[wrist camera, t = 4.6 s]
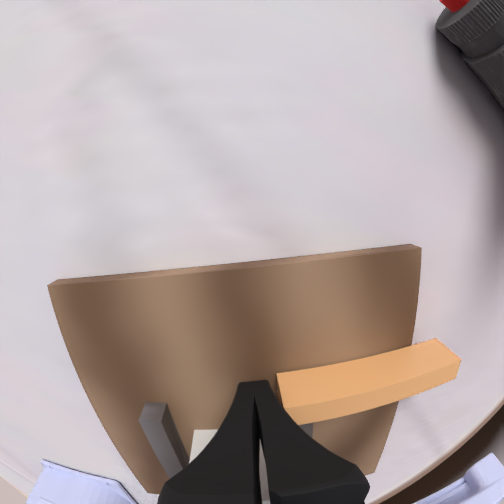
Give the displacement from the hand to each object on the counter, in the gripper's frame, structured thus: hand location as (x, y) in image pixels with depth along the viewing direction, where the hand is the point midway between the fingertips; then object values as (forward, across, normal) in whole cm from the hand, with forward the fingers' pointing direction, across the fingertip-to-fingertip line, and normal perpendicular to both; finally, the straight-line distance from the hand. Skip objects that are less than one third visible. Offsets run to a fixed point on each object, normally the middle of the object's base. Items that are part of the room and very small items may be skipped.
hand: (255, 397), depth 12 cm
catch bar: (+1, -6, 0) cm, 6 cm away
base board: (+2, +1, +3) cm, 4 cm away
